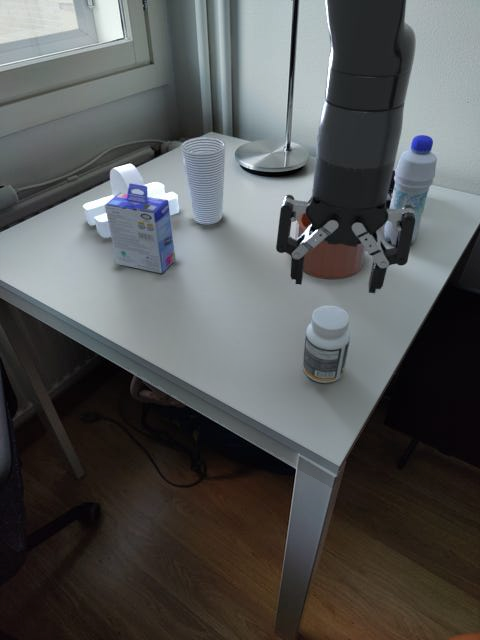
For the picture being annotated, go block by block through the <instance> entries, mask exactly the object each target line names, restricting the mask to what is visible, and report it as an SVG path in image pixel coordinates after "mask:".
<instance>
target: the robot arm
mask: <svg viewBox="0 0 480 640" xmlns="http://www.w3.org/2000/svg"><path fill="white" fill-rule="evenodd" d="M324 1H325V2H324V3H325V14H326V23H327V28H328V29H327V30H328V35H329V43H330V44H329V45H330V47H329V48H330V50H329V57H328V62H327V70H326V71H327V73H326V80H325V81H326V82H325V91H324V93H325V94H324V100H323V104H322V105H323V106H322V110H321V114H320V119H319V123H318V132H317V136H316V139H317V140H316V153H315V162H314V173H313V183H312V191H311V192H312V193H311V197H310V198H309V200H308V201H305V200H304V201H303V200H296V199H295V197H294V196H293V195H292V194H286V195H285V196H284V197H283V198H282V199H283V200H282V203H281V206H280V211H279V218H278V219H279V220H278V228H277V237H276V246H275V249H276V252H278V253H279V254H284V253H286V254H288V256H290V257H291V259H290V260H291V262H290V274H289V275H290V279H291V280H294V281H295V285H299V286H300V285H302V283H303V278H304V271H303V269H304V258H305V254H306V253H307V252H308V251H309V250H311V249H314V248H315V247H316V246H317V245H318V244H319V243H321V242H322V241H323V240H324V241H326V242H327V244H333V245H336V244H344V245H347V246H353V247H356V245H358V244H361V243H362V245H363V246H364V248H365V249H366V253H368V255H369V256H371V257H372V259H373V260H372V265H371V270H370V275H369V279H368V293H369V294H376V291H377V290H381V289H382V288H383V285H384V282H385V278H386V275H387V269H388V268H389V267H390V266H392V265H397V266H401V267H402V266H406V265H407V264H408V260H409V255H410V250H411V246H412V243H411V241H412V236H413V231H414V226H415V214H414V209H413V207H412V206H411V205H405V206H404V207H403V208H402V209H388V208H387V206H386V201H387V196H388V192H390V189H389V187H390V182H391V178H392V173H393V170H394V168H395V163H396V159H397V154H398V149H399V144H400V142H401V141H400V140H401V137H402V136H401V135H402V130H403V123H404V121H403V120H404V112H405V111H404V109H405V102H406V98H407V94H408V89H409V84H410V80H411V75H412V70H413V66H414V65H413V64H414V60H415V55H416V47H417V46H416V44H417V43H416V42H417V41H416V33H415V31H414V28H412V26H410V25H409V24H408V23H406V11H407V9H406V8H407V0H324ZM304 213H305V214H306V216H307V218H308V219H309V221H310V222H311V224H310V225H309V226H308V227H307V229H306V230H305V232H304V233H303V234H302V235H301V236H300V237H299V238H298V239H297V240H295V238H293V237H291V236H290V235H291V228H292V223H294V222H297V220H298V219H299V216H300V215H301V214H304ZM387 221H390V222H392V224H393V229H394V230H396V231H398V233H397V239H396V245H394V247H391V248H388V247H387V245H385V243H384V241H383V240H382V238H381V234H380V232H379V229H381V228H382V227H384V226H385V223H386V222H387Z"/></svg>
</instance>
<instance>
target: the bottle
mask: <svg viewBox="0 0 480 640" xmlns="http://www.w3.org/2000/svg"><path fill="white" fill-rule="evenodd" d="M433 145H434V140H433V138H432V137H431V136H430V135H425V134H420V135H416V136H414V137H413V138H412V141H411V145H410V149H407V150H405V151H403V152H402V153H401V154H400V157H399V159H398V163H397V165H396V168H395V170H394V171H395V177H394V180H395V185H394V190H392V194H391V196H392V199H391V204H390V209H402V208H403V207H404V206H405V205H411V206H412V207H413V209H414V214H415V226H414V231H413V236H412V241H411V244H413V243H414V242H415V241H416V239H417V237H418V235H419V231H420V227H421V222H422V216H423V212H424V209H425V204H426V202H427V198H428V194H429V190H430V187H431V186H432V185H433V183H434V181H433V180H434V179H435V177H436V168H437V161H438V157H437V155H436V154H435V153H433V152H432V149H433ZM383 227H384V228H383V233H384V234H383V235H384V240H385V241H386V242H391V244H392V245H393V246H395V245H396V239H397V233H398V231H396V230H394V229H393V224H392V222H390V221H387V222H386V223H385V224H384V226H383Z"/></svg>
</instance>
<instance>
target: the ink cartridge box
mask: <svg viewBox="0 0 480 640" xmlns="http://www.w3.org/2000/svg"><path fill="white" fill-rule="evenodd" d="M133 189H139V190H141V191H143V192H144V194H143V195H139V194H133V193H132V192H131V191H132V190H133ZM147 191H148V186H142V185H136V184H129V188H128V194H125V193H119V194H118V195H116V196H115V197H114V198H112V199H111V200H110V201H109V202H108V203H106V204H105V209H106V214H107V218H108V223H109V228H110V233H111V237H110V238H111V241H112V247H113V251H114V255H115V261H116V264H117V265H120V266H125V267H130V268H135V269H140V270H144V271H149V272H154V273H158V274H163V273H164V272H165V271H166V270H167V269H168V268H170V266H172V264H173V263H174V262H175V261H176V252H175V245H174V237H173V228H172V222H171V221H172V220H171V216H170V212H169V204H168V200H167V199H160V198H153V197H147Z"/></svg>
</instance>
